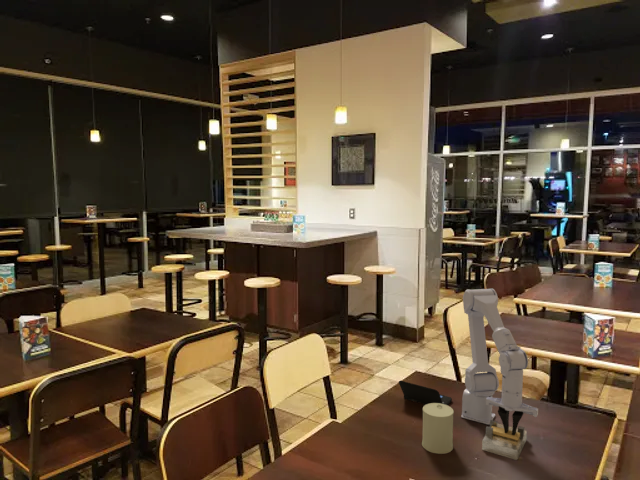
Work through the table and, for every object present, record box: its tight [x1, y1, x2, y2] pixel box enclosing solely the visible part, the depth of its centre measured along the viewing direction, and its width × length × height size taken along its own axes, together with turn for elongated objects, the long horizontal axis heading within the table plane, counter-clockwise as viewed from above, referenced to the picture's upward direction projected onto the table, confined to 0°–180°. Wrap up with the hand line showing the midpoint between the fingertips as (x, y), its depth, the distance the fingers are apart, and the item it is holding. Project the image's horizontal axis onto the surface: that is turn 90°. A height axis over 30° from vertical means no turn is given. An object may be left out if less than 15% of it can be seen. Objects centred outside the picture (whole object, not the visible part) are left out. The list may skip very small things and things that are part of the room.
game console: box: [398, 380, 453, 406], centre depth 175 cm, size 16×14×9 cm
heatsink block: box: [481, 419, 528, 461], centre depth 146 cm, size 10×13×5 cm
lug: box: [517, 425, 526, 437], centre depth 146 cm, size 2×2×2 cm
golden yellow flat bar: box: [491, 426, 520, 440], centre depth 146 cm, size 8×3×1 cm, turn 56°
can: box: [421, 403, 455, 455], centre depth 146 cm, size 9×9×12 cm
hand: (510, 432), depth 145 cm, fingers closed
